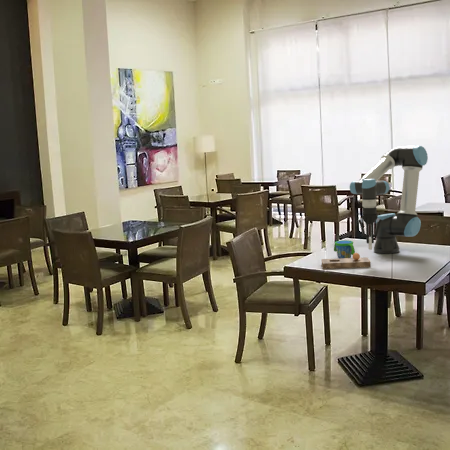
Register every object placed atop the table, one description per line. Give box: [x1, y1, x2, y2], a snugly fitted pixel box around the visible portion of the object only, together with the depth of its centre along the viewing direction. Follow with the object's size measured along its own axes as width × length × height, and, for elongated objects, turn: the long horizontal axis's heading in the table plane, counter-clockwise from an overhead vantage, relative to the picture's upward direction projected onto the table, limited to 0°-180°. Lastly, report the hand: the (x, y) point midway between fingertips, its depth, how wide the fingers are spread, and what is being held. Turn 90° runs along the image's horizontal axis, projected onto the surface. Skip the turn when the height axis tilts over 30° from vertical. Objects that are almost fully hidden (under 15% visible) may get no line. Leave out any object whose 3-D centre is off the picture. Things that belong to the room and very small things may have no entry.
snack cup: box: [333, 240, 356, 258], centre depth 344 cm, size 16×10×10 cm
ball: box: [352, 252, 361, 260], centre depth 325 cm, size 4×4×4 cm
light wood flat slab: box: [321, 256, 372, 270], centre depth 326 cm, size 26×12×3 cm, turn 83°
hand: (370, 249), depth 323 cm, fingers closed
